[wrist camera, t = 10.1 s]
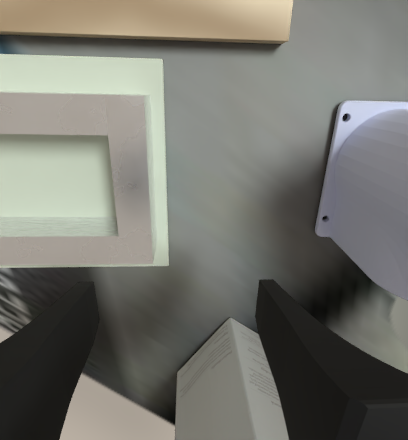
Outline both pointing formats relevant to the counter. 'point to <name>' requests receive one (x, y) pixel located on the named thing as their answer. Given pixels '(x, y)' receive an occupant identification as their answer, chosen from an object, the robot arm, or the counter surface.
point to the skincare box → (229, 390)
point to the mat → (77, 144)
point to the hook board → (151, 19)
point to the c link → (121, 173)
